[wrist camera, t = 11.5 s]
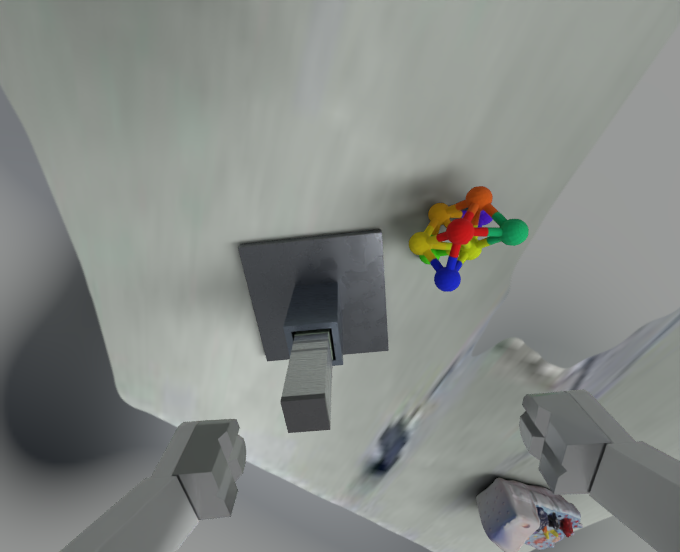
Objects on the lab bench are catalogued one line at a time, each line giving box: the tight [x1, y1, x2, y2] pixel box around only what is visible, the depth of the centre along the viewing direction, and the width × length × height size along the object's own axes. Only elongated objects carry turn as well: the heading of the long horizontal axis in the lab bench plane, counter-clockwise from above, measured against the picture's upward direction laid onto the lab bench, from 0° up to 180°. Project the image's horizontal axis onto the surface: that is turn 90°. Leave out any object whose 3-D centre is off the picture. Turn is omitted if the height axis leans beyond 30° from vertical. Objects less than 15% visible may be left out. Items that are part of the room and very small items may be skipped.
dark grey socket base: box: [238, 229, 388, 366], centre depth 44 cm, size 20×20×12 cm
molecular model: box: [409, 186, 529, 291], centre depth 40 cm, size 11×7×12 cm, turn 130°
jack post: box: [281, 328, 333, 433], centre depth 37 cm, size 4×4×17 cm
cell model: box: [476, 478, 583, 552], centre depth 66 cm, size 13×11×20 cm
